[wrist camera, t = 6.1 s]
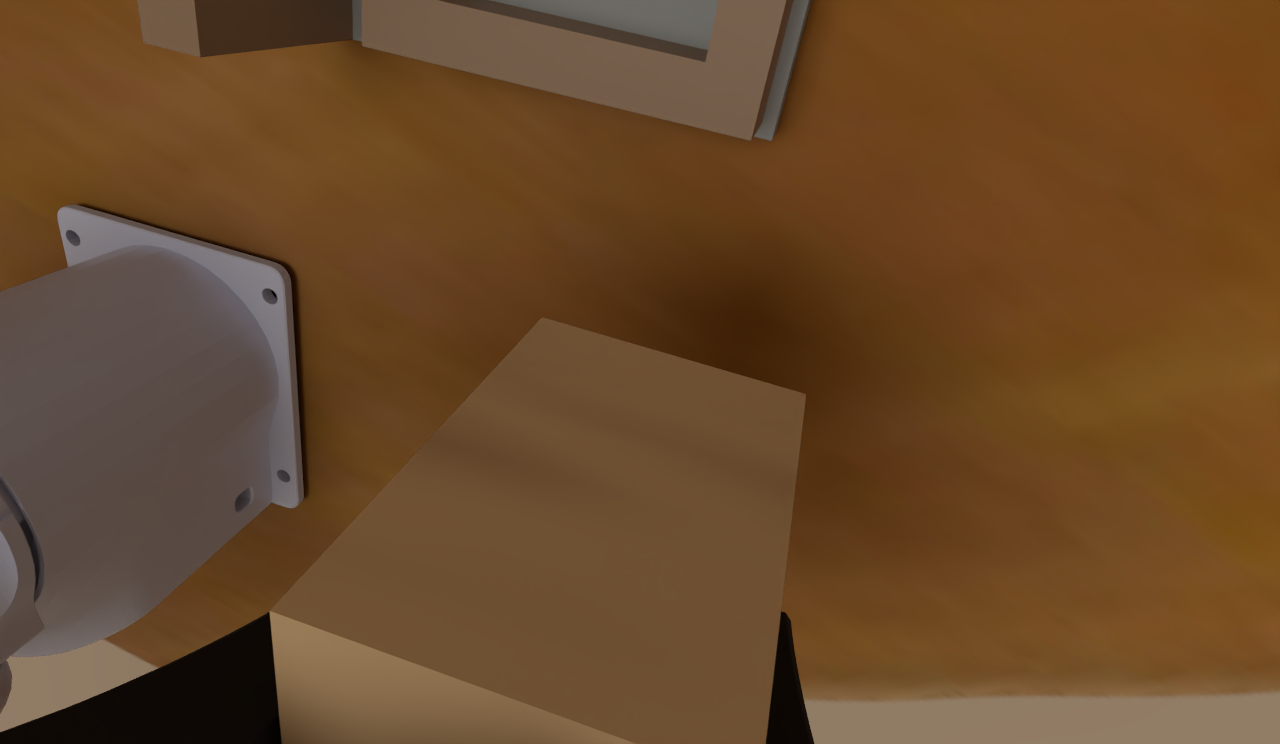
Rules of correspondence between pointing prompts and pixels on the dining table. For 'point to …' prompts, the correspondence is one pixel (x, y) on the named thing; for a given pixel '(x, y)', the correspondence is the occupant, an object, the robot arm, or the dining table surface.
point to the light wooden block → (559, 563)
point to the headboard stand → (540, 46)
